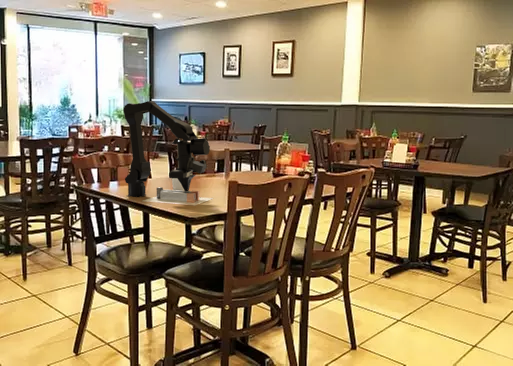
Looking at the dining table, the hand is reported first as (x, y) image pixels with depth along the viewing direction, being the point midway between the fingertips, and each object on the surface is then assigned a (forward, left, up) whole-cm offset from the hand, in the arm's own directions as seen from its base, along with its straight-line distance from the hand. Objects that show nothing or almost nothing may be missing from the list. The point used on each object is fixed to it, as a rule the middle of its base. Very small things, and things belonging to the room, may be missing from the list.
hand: (186, 192), depth 214 cm
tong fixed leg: (-2, -5, -3) cm, 6 cm away
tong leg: (-3, -2, -3) cm, 5 cm away
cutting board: (-3, -2, -3) cm, 5 cm away
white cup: (-16, +24, -4) cm, 29 cm away
